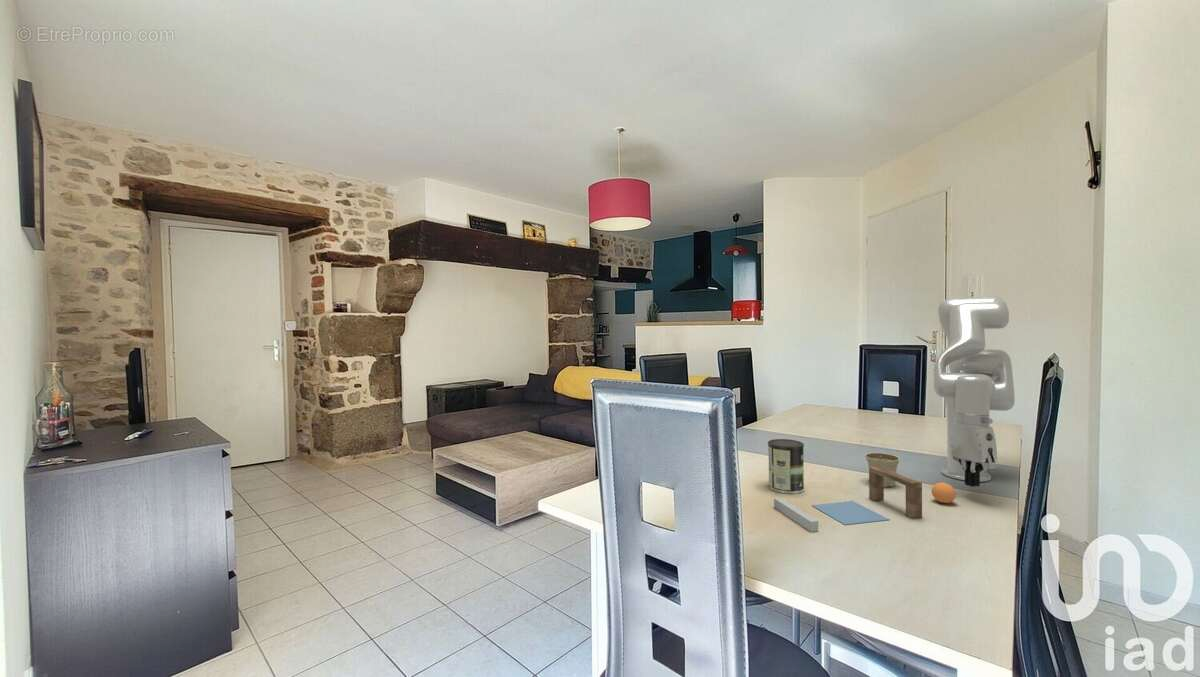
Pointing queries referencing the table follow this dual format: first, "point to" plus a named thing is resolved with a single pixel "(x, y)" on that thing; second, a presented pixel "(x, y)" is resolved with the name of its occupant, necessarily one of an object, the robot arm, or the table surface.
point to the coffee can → (786, 466)
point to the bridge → (911, 485)
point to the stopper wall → (796, 514)
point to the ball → (943, 492)
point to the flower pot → (883, 464)
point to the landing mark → (850, 512)
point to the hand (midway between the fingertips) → (972, 485)
